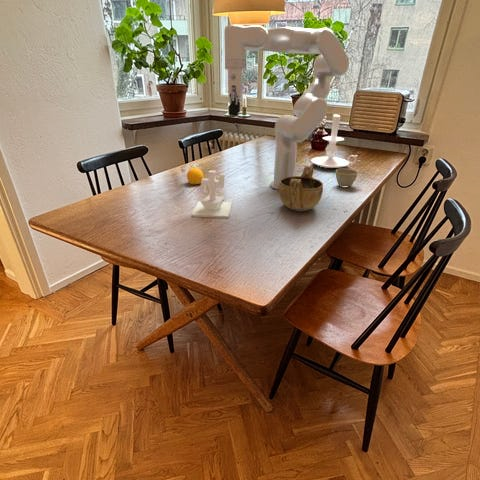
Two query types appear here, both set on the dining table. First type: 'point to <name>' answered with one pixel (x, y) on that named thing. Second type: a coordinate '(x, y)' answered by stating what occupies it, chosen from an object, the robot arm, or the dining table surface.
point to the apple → (195, 176)
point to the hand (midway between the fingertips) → (234, 114)
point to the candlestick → (333, 149)
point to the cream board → (220, 213)
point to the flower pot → (346, 176)
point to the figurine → (212, 191)
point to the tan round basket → (301, 191)
